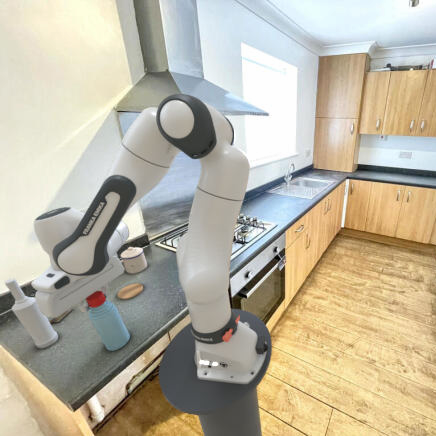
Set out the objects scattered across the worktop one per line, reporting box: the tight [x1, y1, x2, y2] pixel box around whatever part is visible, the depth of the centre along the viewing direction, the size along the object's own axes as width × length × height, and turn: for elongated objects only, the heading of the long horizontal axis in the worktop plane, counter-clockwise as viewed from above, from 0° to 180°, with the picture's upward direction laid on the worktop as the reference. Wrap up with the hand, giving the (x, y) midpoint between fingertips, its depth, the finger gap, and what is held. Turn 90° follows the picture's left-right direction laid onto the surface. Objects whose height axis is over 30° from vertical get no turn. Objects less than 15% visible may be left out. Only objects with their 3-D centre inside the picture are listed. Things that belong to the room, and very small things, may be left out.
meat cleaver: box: [48, 308, 73, 325], centre depth 83 cm, size 12×1×5 cm
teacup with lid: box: [120, 246, 148, 274], centre depth 109 cm, size 12×9×12 cm
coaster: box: [117, 282, 144, 300], centre depth 97 cm, size 9×9×1 cm
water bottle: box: [88, 299, 131, 352], centre depth 72 cm, size 6×6×19 cm
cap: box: [85, 290, 107, 308], centre depth 68 cm, size 4×4×3 cm
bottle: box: [4, 278, 59, 349], centre depth 71 cm, size 5×5×25 cm
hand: (95, 304), depth 69 cm, fingers open, 4 cm apart
